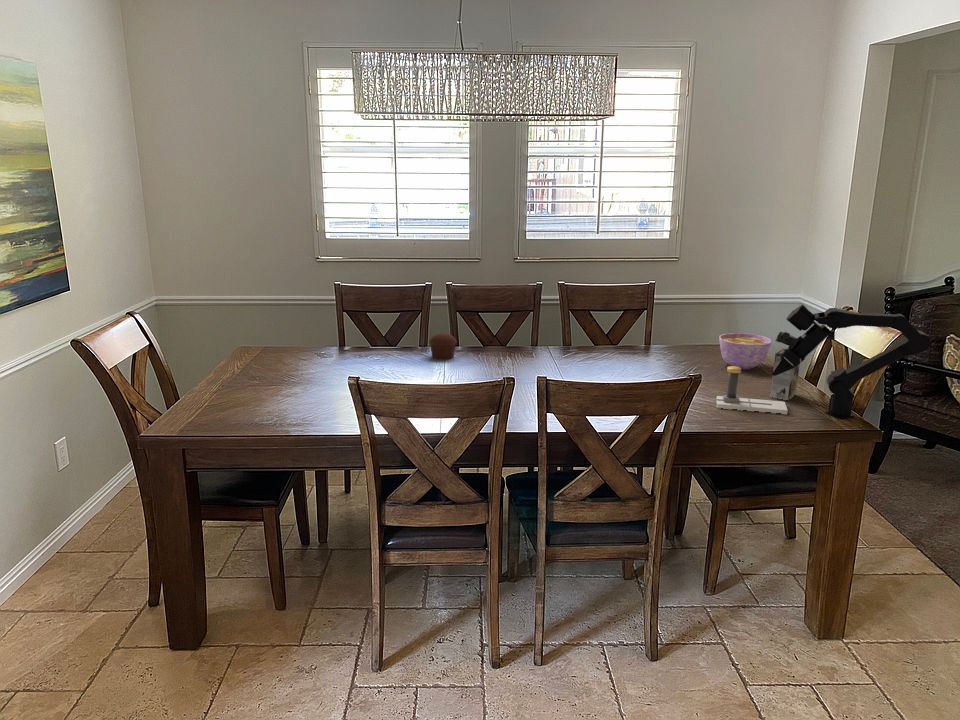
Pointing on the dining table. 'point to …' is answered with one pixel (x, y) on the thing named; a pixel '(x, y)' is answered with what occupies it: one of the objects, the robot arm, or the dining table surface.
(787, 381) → the coffee box
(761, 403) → the fader console
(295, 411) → the dining table surface
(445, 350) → the muffin
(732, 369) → the lever
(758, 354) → the bowl of food
